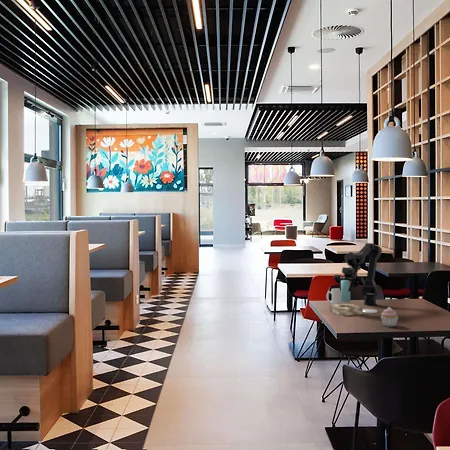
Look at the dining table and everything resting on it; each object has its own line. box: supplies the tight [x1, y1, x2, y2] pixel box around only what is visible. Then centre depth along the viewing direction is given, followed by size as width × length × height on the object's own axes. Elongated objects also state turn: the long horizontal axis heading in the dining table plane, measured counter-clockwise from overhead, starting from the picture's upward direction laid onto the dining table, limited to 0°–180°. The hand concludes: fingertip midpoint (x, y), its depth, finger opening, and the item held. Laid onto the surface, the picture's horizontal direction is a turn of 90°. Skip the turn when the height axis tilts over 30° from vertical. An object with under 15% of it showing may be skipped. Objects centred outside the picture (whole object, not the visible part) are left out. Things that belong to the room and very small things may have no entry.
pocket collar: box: [329, 302, 364, 317], centre depth 295 cm, size 14×14×4 cm
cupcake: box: [380, 306, 399, 328], centre depth 258 cm, size 9×9×10 cm
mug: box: [326, 287, 343, 305], centre depth 312 cm, size 10×7×12 cm, turn 73°
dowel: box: [341, 280, 351, 303], centre depth 295 cm, size 5×5×12 cm
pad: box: [363, 308, 378, 314], centre depth 296 cm, size 10×10×1 cm
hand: (344, 290), depth 294 cm, fingers closed on dowel, 5 cm apart
